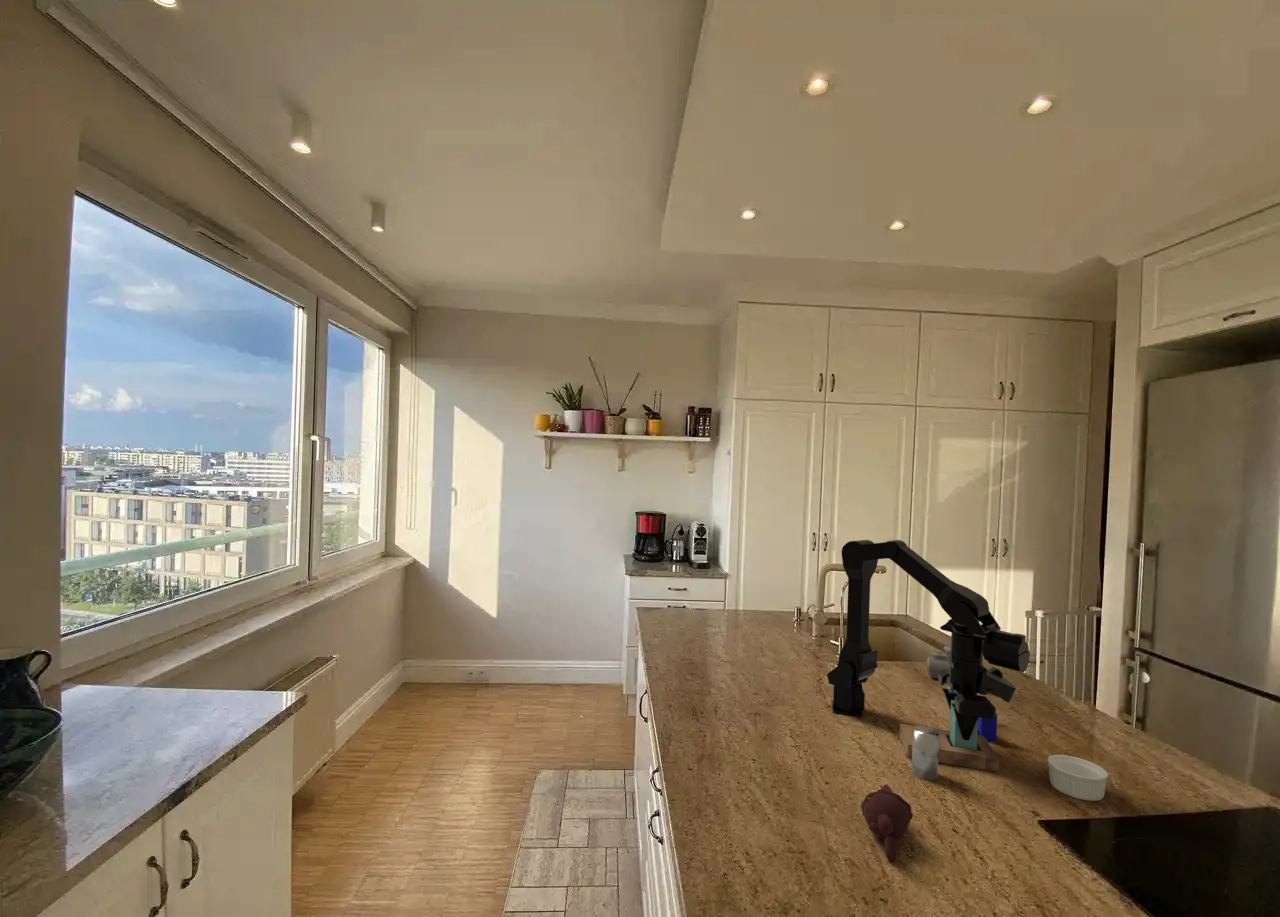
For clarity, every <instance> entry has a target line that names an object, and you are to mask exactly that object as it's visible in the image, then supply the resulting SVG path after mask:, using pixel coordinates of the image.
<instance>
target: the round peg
mask: <svg viewBox="0 0 1280 917" xmlns="http://www.w3.org/2000/svg"><path fill="white" fill-rule="evenodd" d="M914 726H915V727H914V728H913V746H912V758H911V769H910V770H911V774H912V775H913V776H915V777H916V778H919V779H921V780H925V781H929V782H930V781H936V780H937V779H938V773H939V762H938V755H939V732H938V731H936V730H934V729H935V728H934V729H932V728H933V727H928V726H923V725H914Z"/></svg>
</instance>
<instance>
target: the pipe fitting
mask: <svg viewBox="0 0 1280 917" xmlns="http://www.w3.org/2000/svg"><path fill="white" fill-rule="evenodd" d="M943 647H944V648H943V649H944V651H938V650H937V651H934V652H933V653H932V655H929V656H928V657H927V659H926V664H925V665H926V672H927V674H928V676H929V677H930V678H931V679H936V680H938V673H939V672H940V671H941V670H943V669H948V670H950V664H949V663H948V657H950V653H951V643H948V644H945V645H944V646H943Z"/></svg>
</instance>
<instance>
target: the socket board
mask: <svg viewBox="0 0 1280 917" xmlns="http://www.w3.org/2000/svg"><path fill="white" fill-rule="evenodd" d="M915 726H916V725H913V724H905V723H899V734H898V735H900V736H899V738H900V741H901V743H902V746H903V749H904V751H905V755H906V756H907V758H911V759H912V746H913V728H914V727H915ZM931 728H932V729H934V730H936V731H938V732H939V755H938V763H941V764H949V765H953V766H959V767H968V768H972V769H980V770H983V771H990V772H999V768H1000V766H999V765H1000V758H999V756H998V755H997V753H996V752H995V750H994V749H993V747H992V746H991V745H990V743H989V741H987V740H986V739H985V737H984V736H982V735H977V750H972V749H965V748H959V747H953V745H952V743H951V741H950V739H949V737H950V730H949V729H948V730H947V729H940V728H939V729H938V728H933V727H931Z"/></svg>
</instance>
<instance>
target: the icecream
mask: <svg viewBox="0 0 1280 917" xmlns="http://www.w3.org/2000/svg"><path fill="white" fill-rule="evenodd" d="M860 808H861V811H862V816H863V817H864V819H865V822H866V823H867V825H868V828H869V829H868V830H870V831H871V832H872V833H873V834H874V835H876V837H878V838H880V839H882V840H884V852H885V856H886V858H887V860H888V861H890V862H892V861H894V860H896V859H897V855H898V846H897V842H896V841H898V840H899V839H900V838H901V837H903V836H904V835H906V834H907V833H908V831H909V826H910V823H911V820H912V819H913V813H912V805H911V804H910V803H909V802H907V801H906V800H905V799H904V798H903V797H902V796H900V795H899V794H898V793H895V792H893V790H892V789H891V787H890V786H889V785H888V784H886V783H885V784H883V785H882V787H881V788H879V789H878V790H877V791H872V792H869V793H868V794H866V795H865V797H864V800H863V801H862V802H861V804H860Z"/></svg>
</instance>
